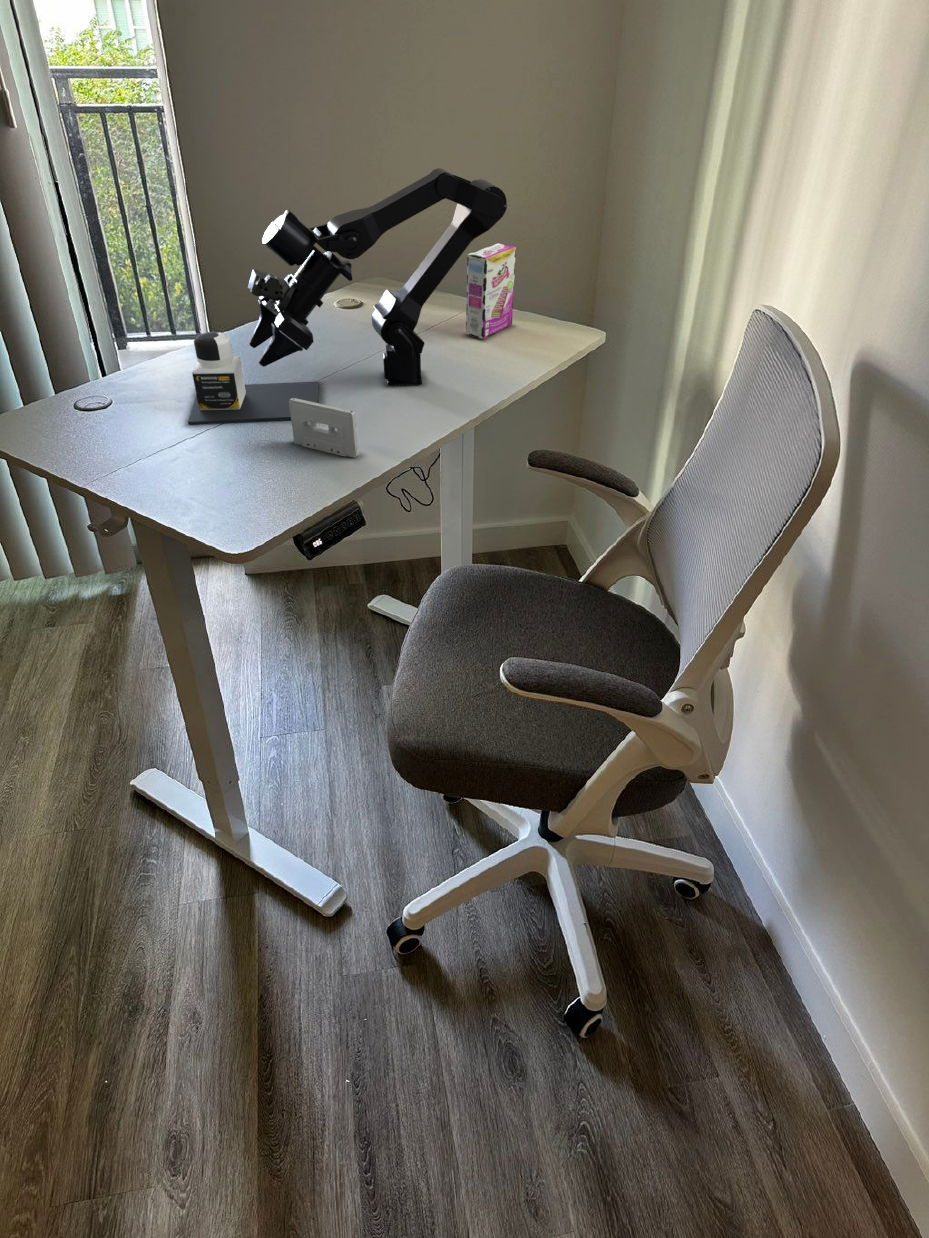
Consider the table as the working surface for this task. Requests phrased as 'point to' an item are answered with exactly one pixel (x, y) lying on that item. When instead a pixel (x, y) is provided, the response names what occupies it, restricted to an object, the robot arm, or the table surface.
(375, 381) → the table surface
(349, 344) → the table surface
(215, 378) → the medicine bottle
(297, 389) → the desk mat
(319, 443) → the cassette
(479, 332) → the candy bar box
